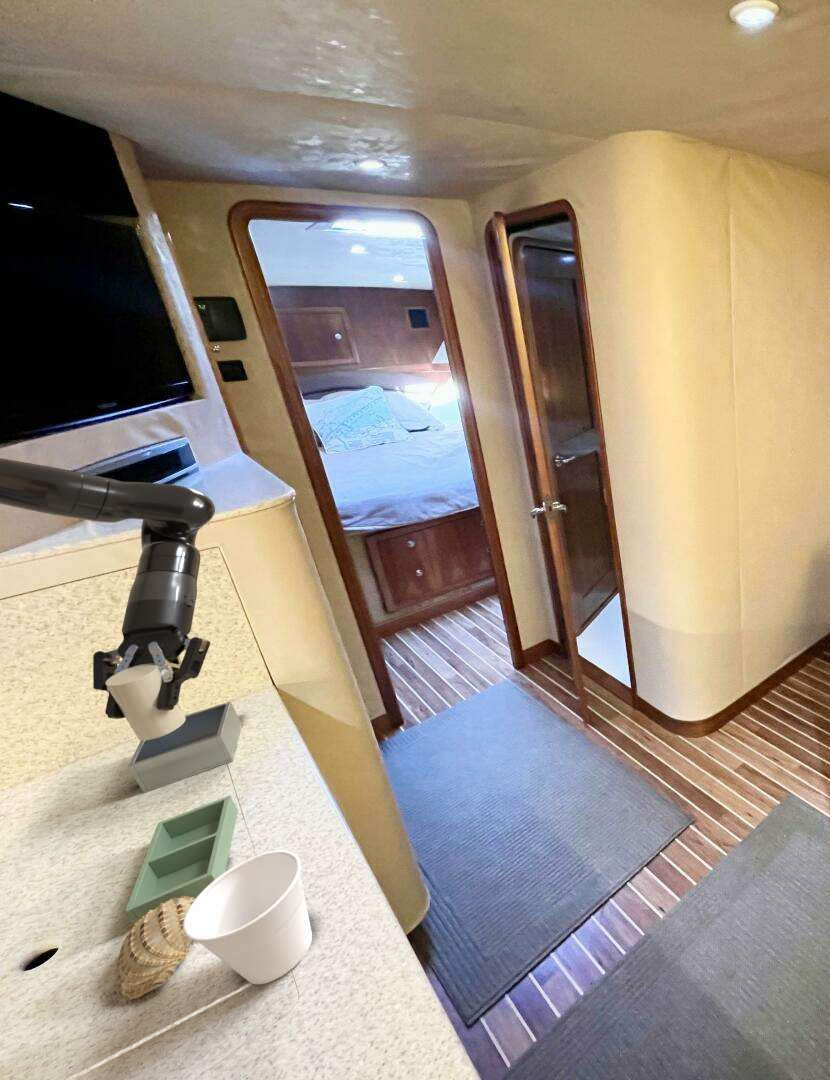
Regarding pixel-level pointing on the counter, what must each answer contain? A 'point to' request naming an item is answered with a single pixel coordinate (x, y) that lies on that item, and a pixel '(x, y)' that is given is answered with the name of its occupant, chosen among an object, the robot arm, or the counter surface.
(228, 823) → the divided tray
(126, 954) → the seashell
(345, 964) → the counter surface
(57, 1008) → the counter surface
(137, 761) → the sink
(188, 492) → the robot arm
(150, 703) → the cream round block
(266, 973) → the cup
